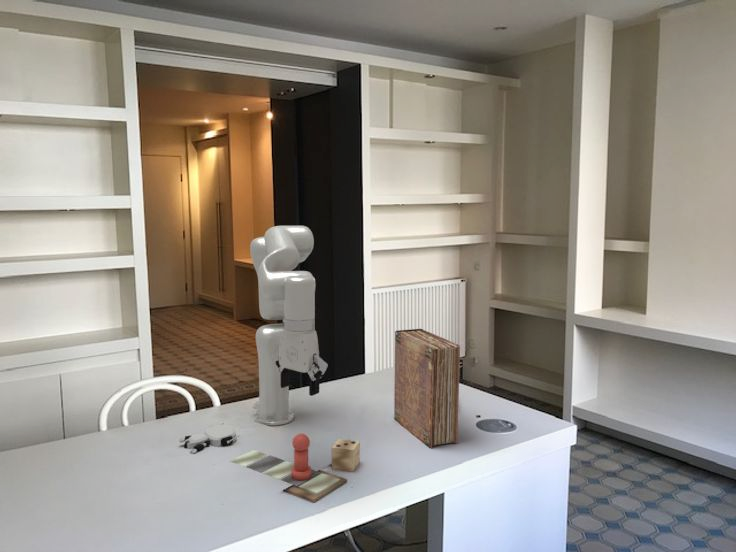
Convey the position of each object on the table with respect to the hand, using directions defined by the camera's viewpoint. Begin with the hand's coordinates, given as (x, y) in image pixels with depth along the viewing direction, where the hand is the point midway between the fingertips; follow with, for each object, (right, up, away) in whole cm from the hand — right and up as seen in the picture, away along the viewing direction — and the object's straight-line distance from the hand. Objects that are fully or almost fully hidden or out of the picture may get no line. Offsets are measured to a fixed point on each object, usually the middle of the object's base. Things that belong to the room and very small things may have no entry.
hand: (299, 390), depth 151 cm
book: (+35, -20, +34) cm, 53 cm away
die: (+11, -22, +9) cm, 27 cm away
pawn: (0, -22, 0) cm, 22 cm away
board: (-5, -23, +4) cm, 24 cm away
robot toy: (-29, -21, +21) cm, 41 cm away
